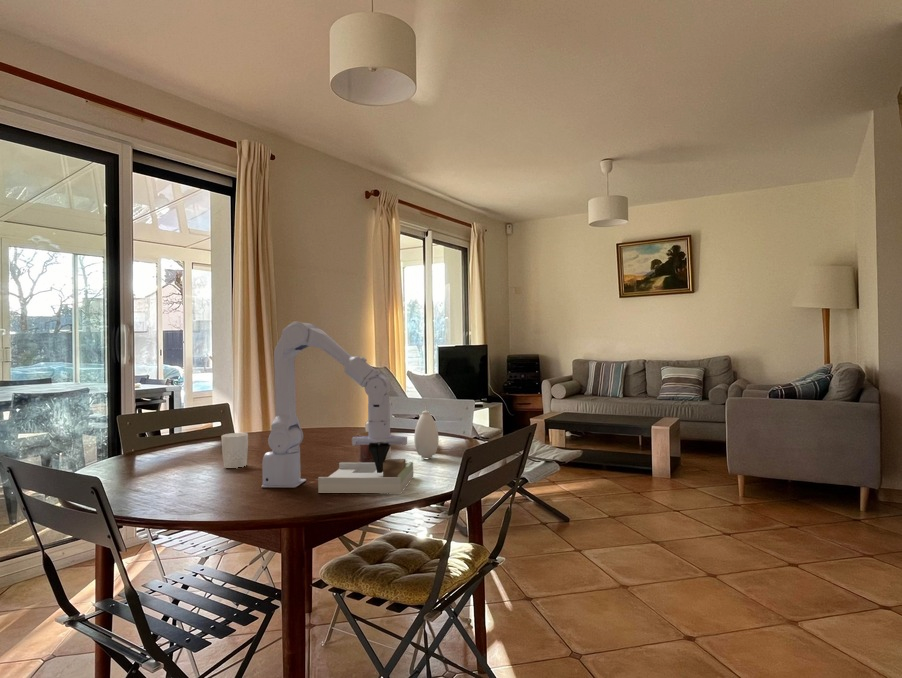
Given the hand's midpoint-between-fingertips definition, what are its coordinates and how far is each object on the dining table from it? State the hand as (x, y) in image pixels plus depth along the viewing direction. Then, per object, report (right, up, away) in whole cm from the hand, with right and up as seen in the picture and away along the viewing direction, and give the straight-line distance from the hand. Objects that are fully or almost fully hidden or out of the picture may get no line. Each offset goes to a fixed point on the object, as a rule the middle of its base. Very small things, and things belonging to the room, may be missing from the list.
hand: (380, 472), depth 149 cm
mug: (-6, -4, +21) cm, 22 cm away
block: (+4, -1, 0) cm, 4 cm away
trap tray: (-3, -4, 0) cm, 5 cm away
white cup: (-49, -5, +28) cm, 56 cm away
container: (-5, -4, +32) cm, 32 cm away
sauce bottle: (+11, -4, +33) cm, 35 cm away
